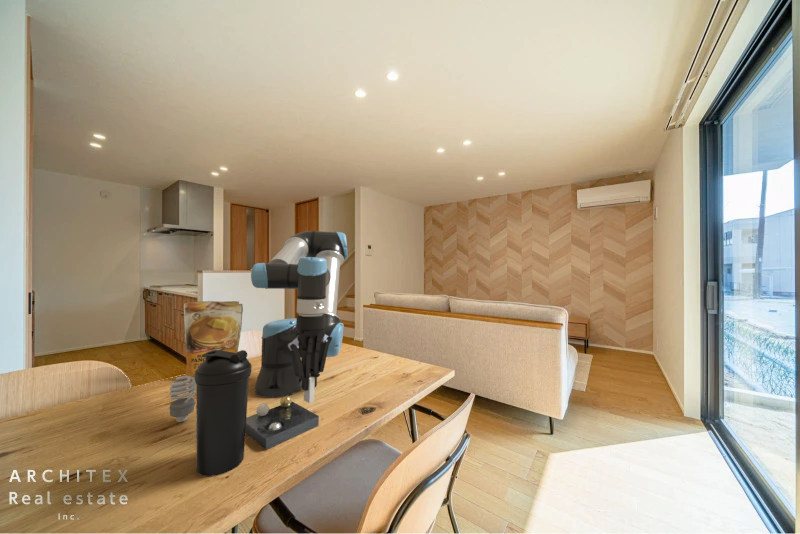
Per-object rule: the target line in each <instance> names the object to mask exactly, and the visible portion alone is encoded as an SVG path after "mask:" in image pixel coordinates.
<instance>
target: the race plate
mask: <svg viewBox="0 0 800 534" xmlns="http://www.w3.org/2000/svg"><path fill="white" fill-rule="evenodd" d="M319 419H320V418H319V415H317V414H316V413H314V412H312V411H310V410H308V409H307V408H305V407H303V406H301V405H300V404H298V403H296V402H294V401H292V402H291V404H290V406H288V407H282V406H281V404H280V405H278V406H275V407H271V408H269V411H268V413H267V414H266V415H264V416H259V415H258V414H257V413H255V414H253V415H250V416H246V431H245V435H246V436H248V437H249V438H251V440H253V441H254V442H255V443H257V444H258V445H259V446H260V447H261V448H263V449H264V450H265V451H267V450H269V449H272V448H273V447H275V446H278V445H281V444H282V443H284V442H286V441H289V440H291V439H293V438H295V437H297V436H299V435H302V434H304V433H306V432H308V431H310V430H312V429H314V428H316V427H319V426H320V425H319V421H320V420H319ZM274 422H279V423H280V424H281V425H282V428H280V429H278V430H274V431H268V428H269V426H270V425H271V424H272V423H274Z"/></svg>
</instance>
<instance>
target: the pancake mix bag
mask: <svg viewBox="0 0 800 534" xmlns="http://www.w3.org/2000/svg"><path fill="white" fill-rule="evenodd" d="M182 305H183V307H182V308H183V309H182V311H183V321H184V322H183V329H184V331H183V332H184V342H185V361H186V367H185V375H184V376H190V377H194V378H195V371H196V370H197V369H198V367H199V365H200V364H201V363H202V362H204V361H205V359H206V357H202V355H203V354H205V353H207V352H209V351H212V350H223V351H227V352H233V353H237V352H239V347H240V346H239V345H240V340H241V331H242V325H243V324H242V323H243V322H242V321H243V311H244V307H243V303H240V301H235V300H233V301H215V300H214V301H212V300H211V301H210V300H208V301H188V302H186V303H183V304H182ZM183 380H188V379H183ZM191 381H192V380H191Z"/></svg>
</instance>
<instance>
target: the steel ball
mask: <svg viewBox="0 0 800 534" xmlns="http://www.w3.org/2000/svg"><path fill="white" fill-rule="evenodd" d="M280 428H282V425H281V424H280V423H279V422H274V423H272V424H271V425H270V426H269V428H268V431H274V430H278V429H280Z"/></svg>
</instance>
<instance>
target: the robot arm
mask: <svg viewBox="0 0 800 534" xmlns="http://www.w3.org/2000/svg"><path fill="white" fill-rule="evenodd" d="M348 255H349V254H348V243H347V235H346V234H345V232H340V231H321V230H319V231H318V230H317V231H316V230H305V231H302V232H298V233H296V234H293V235H291V236H290V237H289V238H287V239H286V241H284V244H283V247H282V248H281V250H280V251H278V252H277V253H276V255H275V256H273V258H272V259H271V260H269V262H267V263H266V262H260V263H259V262H258V263H255V264H254V265H253V266H252V268H251V270H250V271H251V272H250V280H251V284H252V286H253V287H254V288H256V289H266V290H268V289H271V290H272V289H274V290H275V289H276V290H279V289H282V290H283V289H284V290H285V289H286V290H287V289H288V290H289V289H291V290H297V292H296V293H297V295H296V314H297V315H296V317H295V318H294V317H293V318H292V317H291V318H284V319H283V318H282V319H277V320H272V321H270V322H267V323H266V324H264V326H263V327H262V336H261V361H260V362H261V364H260V365H261V366H260V370H259V373H258V375H257V378H256V380H255V384H254V394H255V395H256V396H258V397H263V398H279V397H280V398H282V397H284V396H289V395H293V394H295V393H298V392H299V391H301V390H302V391H303V401H305V402H306V403H308V404H312V403H314V402H315V389H316V388H317V385H318V378H319V377H320V376H321V375H320V373H323V372H324V371H325V364H326V360H327V358H333V357H336V356H338V355H339V353H340V351H341V348H342V343H343V338H344V337H343V336H344V327H345V326H344V325H345V324H344V323H342V322H341V319H340V317H339V316H338V315H337V314H338V313H337V311H338V297H339V284H340V283H339V282H340V271H341V270H340V268H341V266H342V265H343V264H344V261H345V260H348V258H349V257H348Z"/></svg>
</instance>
